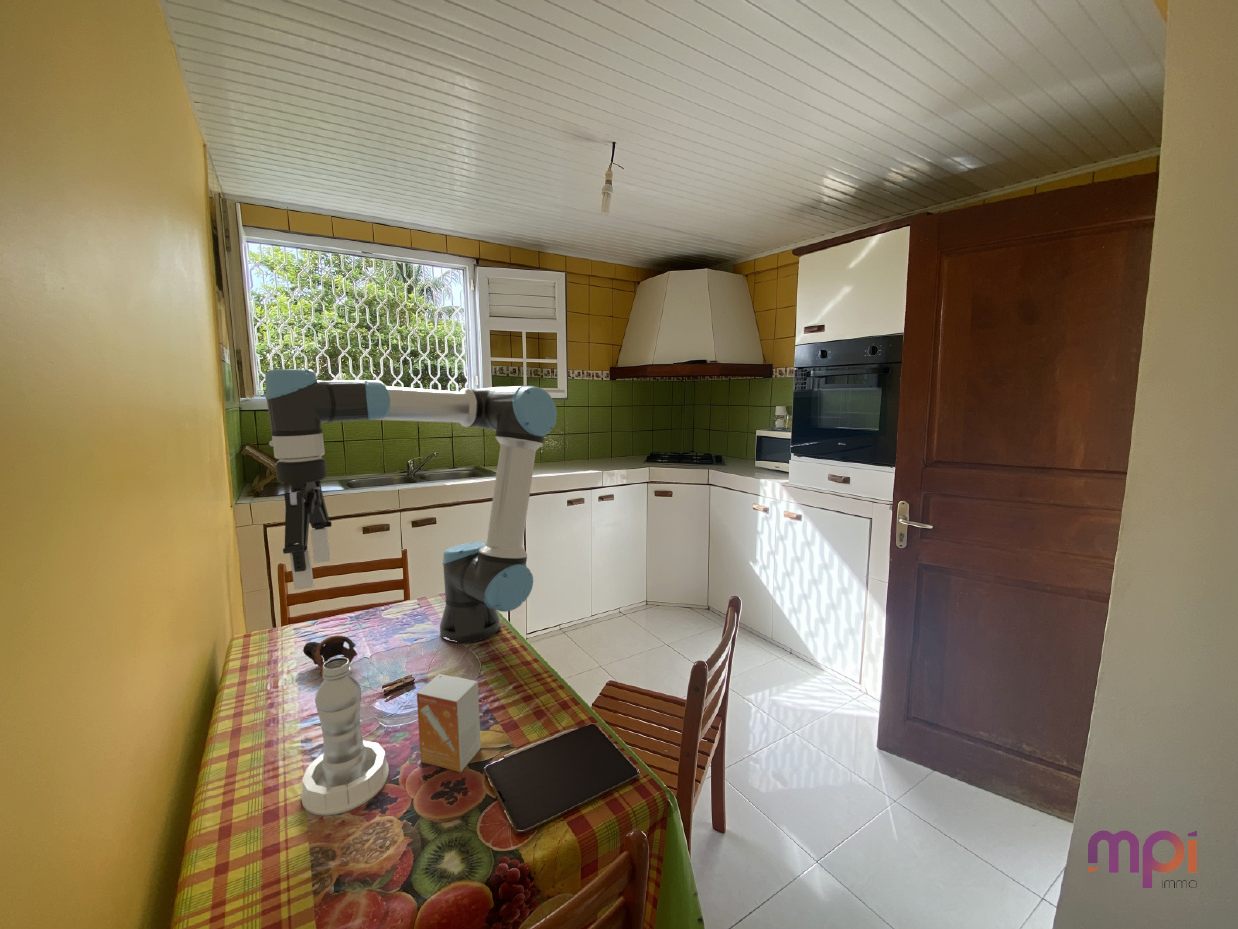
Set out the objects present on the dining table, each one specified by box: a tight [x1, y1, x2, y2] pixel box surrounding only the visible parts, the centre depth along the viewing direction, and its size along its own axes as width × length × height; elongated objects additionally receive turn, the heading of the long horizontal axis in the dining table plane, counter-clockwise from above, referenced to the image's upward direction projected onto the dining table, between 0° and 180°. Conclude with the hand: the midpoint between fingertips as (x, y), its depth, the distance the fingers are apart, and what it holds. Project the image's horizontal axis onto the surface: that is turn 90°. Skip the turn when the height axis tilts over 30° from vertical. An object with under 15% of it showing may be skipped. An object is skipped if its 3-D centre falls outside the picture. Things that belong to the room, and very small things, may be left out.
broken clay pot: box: [302, 634, 358, 678], centre depth 116 cm, size 12×10×8 cm
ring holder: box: [300, 739, 390, 817], centre depth 82 cm, size 12×12×3 cm
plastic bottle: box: [314, 656, 368, 787], centre depth 80 cm, size 6×7×20 cm
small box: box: [416, 673, 482, 773], centre depth 87 cm, size 8×6×13 cm
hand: (314, 574), depth 93 cm, fingers open, 13 cm apart
